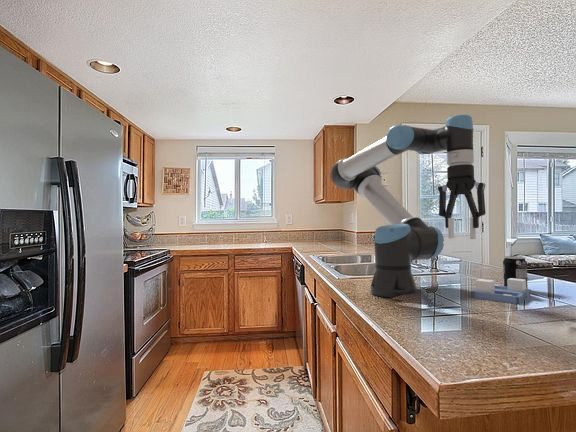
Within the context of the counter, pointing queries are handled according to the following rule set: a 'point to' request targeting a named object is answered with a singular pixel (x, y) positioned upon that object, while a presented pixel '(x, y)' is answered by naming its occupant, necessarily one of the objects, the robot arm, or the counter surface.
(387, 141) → the robot arm
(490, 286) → the white block
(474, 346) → the counter surface
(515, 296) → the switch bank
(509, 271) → the beverage can
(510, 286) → the tab far
